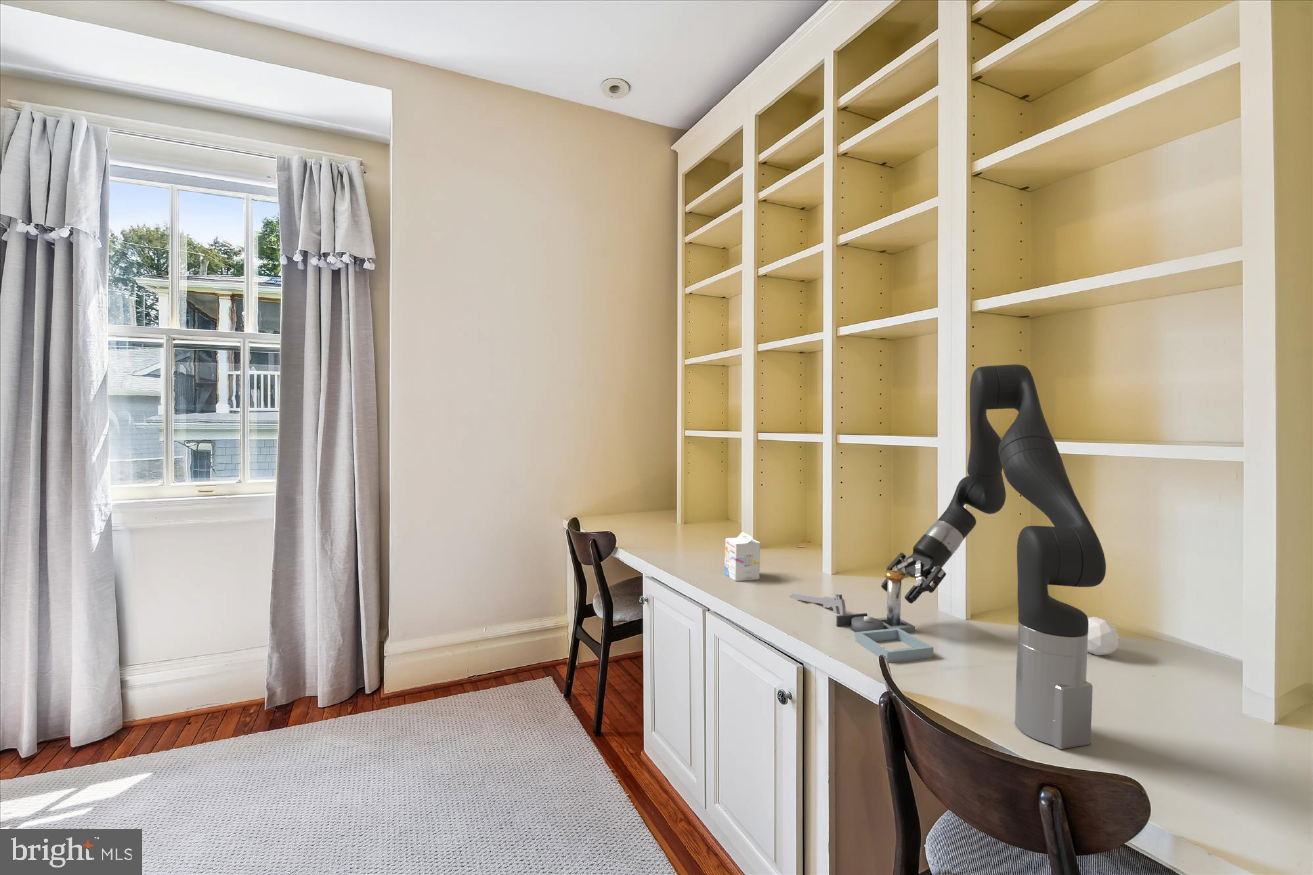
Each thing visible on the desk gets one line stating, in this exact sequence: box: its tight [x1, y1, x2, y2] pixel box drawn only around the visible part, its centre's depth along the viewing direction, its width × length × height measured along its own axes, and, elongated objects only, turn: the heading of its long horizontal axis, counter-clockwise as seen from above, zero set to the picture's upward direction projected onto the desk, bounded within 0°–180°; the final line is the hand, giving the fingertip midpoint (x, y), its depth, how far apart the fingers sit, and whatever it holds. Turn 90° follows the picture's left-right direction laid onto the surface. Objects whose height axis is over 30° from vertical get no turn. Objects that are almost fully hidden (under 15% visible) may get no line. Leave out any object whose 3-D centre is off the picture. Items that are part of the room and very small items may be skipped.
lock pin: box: [884, 570, 906, 627], centre depth 133 cm, size 4×4×13 cm
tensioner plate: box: [835, 612, 920, 635], centre depth 132 cm, size 9×16×4 cm, turn 104°
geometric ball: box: [1087, 616, 1120, 656], centre depth 122 cm, size 8×8×8 cm
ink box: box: [724, 531, 761, 582], centre depth 178 cm, size 9×8×13 cm
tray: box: [854, 628, 934, 663], centre depth 121 cm, size 11×11×3 cm
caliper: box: [788, 592, 847, 615], centre depth 150 cm, size 20×1×6 cm, turn 26°
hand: (895, 594), depth 133 cm, fingers open, 8 cm apart
